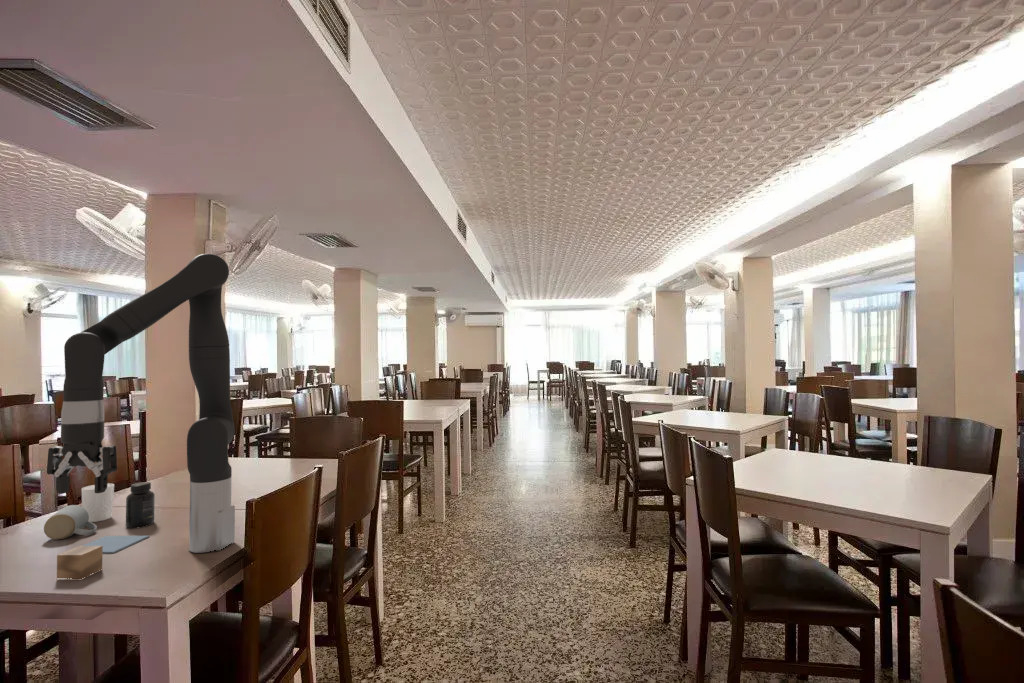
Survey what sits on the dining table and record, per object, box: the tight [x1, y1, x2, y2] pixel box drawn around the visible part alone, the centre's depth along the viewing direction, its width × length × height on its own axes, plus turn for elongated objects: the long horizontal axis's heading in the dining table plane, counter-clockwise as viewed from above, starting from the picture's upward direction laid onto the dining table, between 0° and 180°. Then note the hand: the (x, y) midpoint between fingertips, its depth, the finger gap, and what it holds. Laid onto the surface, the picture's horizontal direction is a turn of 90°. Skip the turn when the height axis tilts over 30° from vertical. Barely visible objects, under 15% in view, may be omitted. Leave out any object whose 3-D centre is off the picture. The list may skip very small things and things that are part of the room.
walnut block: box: [56, 545, 103, 579], centre depth 114 cm, size 6×6×6 cm
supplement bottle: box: [125, 481, 156, 529], centre depth 150 cm, size 7×7×12 cm
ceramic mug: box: [43, 504, 98, 541], centre depth 141 cm, size 11×8×8 cm
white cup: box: [81, 483, 115, 523], centre depth 157 cm, size 8×8×10 cm
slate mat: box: [82, 535, 150, 554], centre depth 133 cm, size 12×12×1 cm
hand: (81, 492), depth 115 cm, fingers open, 8 cm apart
